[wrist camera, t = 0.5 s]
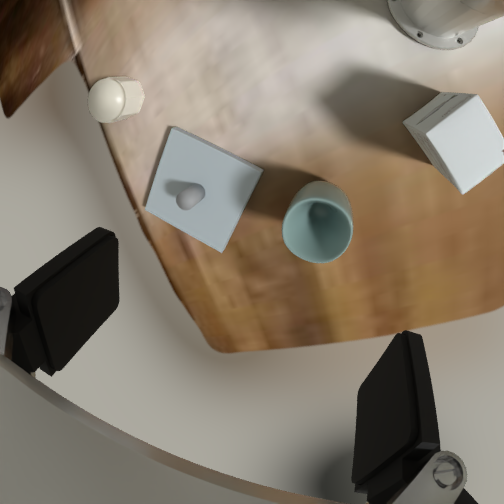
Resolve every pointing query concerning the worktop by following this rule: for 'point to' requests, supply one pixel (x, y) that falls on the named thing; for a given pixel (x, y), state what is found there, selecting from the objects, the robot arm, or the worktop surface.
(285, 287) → the worktop surface
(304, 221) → the cup
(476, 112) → the supplement box
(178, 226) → the stud plate
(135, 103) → the cap
